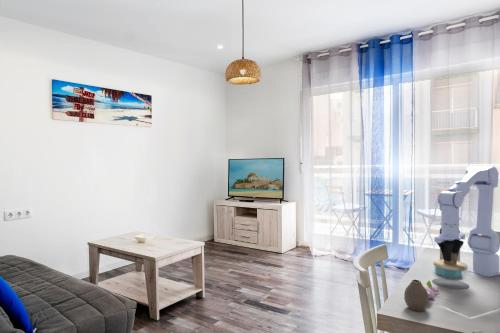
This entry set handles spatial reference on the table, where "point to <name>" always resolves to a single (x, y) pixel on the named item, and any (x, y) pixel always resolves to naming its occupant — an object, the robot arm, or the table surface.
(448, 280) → the mat
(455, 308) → the table surface
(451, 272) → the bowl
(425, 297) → the vase
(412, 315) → the table surface
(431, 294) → the rabbit figure
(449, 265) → the lid
